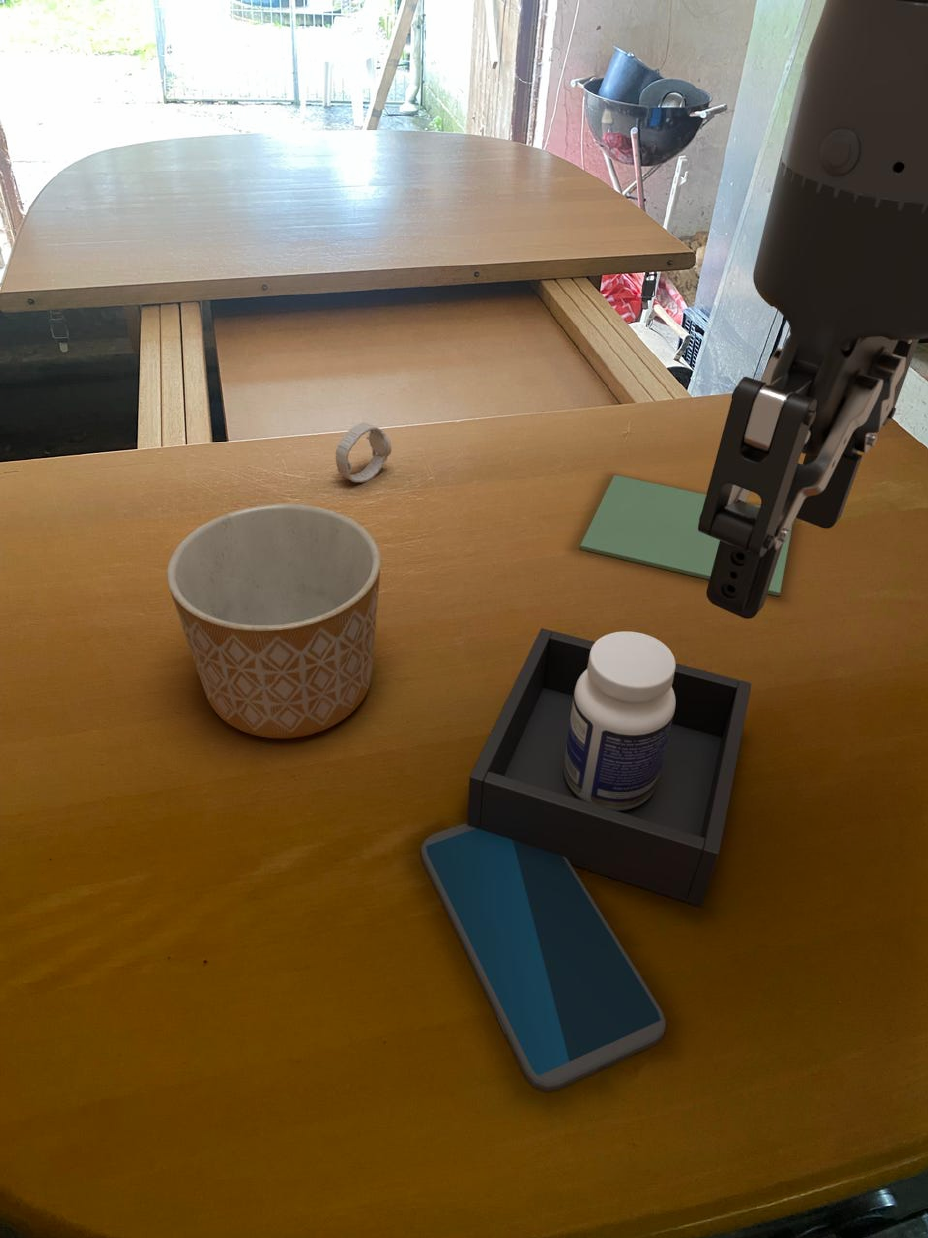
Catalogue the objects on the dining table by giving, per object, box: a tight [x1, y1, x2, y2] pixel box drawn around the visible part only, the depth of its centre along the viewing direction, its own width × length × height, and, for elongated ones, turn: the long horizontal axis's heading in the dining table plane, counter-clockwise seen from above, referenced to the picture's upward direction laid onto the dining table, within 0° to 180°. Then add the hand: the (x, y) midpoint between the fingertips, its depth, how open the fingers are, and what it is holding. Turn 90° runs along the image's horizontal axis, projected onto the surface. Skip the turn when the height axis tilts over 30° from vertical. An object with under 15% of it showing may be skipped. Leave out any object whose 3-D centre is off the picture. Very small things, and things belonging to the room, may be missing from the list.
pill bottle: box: [564, 630, 676, 811], centre depth 53 cm, size 6×6×10 cm
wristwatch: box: [335, 422, 392, 483], centre depth 81 cm, size 3×5×5 cm, turn 139°
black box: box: [466, 627, 753, 908], centre depth 55 cm, size 14×14×5 cm
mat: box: [579, 474, 793, 597], centre depth 77 cm, size 16×12×1 cm
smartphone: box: [420, 822, 667, 1093], centre depth 48 cm, size 8×15×1 cm, turn 24°
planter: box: [166, 503, 382, 739], centre depth 59 cm, size 13×13×10 cm
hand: (774, 560), depth 40 cm, fingers open, 8 cm apart
